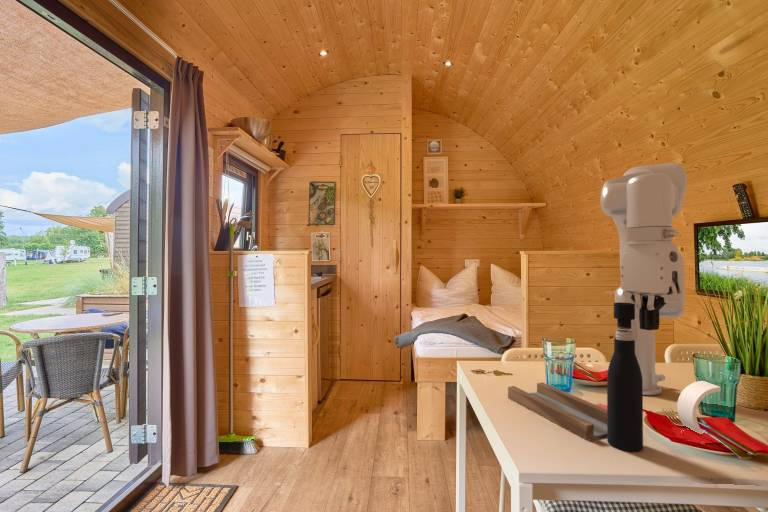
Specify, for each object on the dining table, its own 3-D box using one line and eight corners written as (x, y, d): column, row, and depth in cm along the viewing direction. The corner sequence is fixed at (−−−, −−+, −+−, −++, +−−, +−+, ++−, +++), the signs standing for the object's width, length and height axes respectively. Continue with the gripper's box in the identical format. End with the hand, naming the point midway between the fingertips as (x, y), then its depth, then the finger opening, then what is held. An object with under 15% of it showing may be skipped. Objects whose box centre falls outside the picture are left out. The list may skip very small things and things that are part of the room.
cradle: (542, 393, 115) (542, 382, 115) (627, 432, 89) (627, 418, 89) (508, 398, 112) (508, 386, 112) (586, 440, 86) (586, 425, 86)
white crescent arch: (721, 443, 84) (720, 387, 84) (692, 443, 84) (692, 387, 84) (704, 434, 89) (703, 380, 89) (676, 433, 89) (676, 380, 89)
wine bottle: (648, 453, 80) (647, 305, 80) (613, 450, 81) (613, 304, 81) (635, 439, 86) (634, 302, 86) (603, 436, 87) (602, 301, 88)
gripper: (702, 235, 73) (703, 335, 73) (628, 239, 87) (628, 322, 87) (673, 234, 70) (674, 337, 70) (602, 238, 84) (602, 324, 84)
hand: (649, 329), depth 78 cm, fingers closed
